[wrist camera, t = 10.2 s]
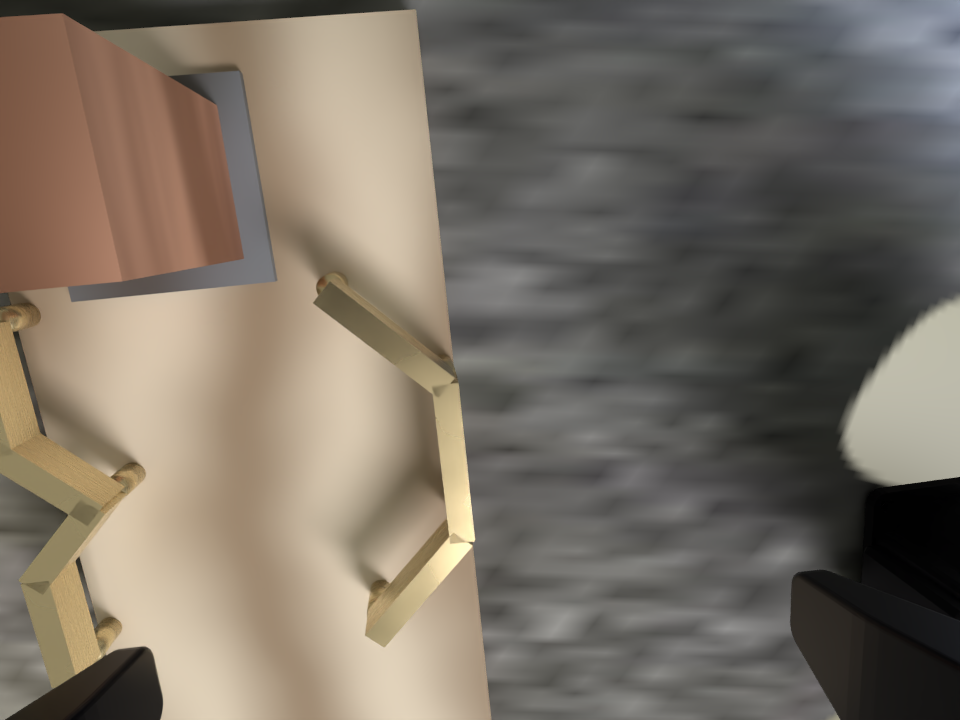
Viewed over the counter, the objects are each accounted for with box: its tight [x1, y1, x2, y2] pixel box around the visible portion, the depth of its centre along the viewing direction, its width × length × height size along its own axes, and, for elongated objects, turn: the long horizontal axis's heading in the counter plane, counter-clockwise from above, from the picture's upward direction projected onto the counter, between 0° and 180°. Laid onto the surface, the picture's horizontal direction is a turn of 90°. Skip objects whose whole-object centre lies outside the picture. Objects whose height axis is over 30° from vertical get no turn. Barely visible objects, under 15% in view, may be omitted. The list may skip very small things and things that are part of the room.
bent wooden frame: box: [0, 271, 475, 688], centre depth 17 cm, size 12×11×2 cm
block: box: [0, 13, 244, 293], centre depth 13 cm, size 4×4×7 cm
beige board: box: [8, 9, 491, 720], centre depth 19 cm, size 12×24×1 cm, turn 5°
